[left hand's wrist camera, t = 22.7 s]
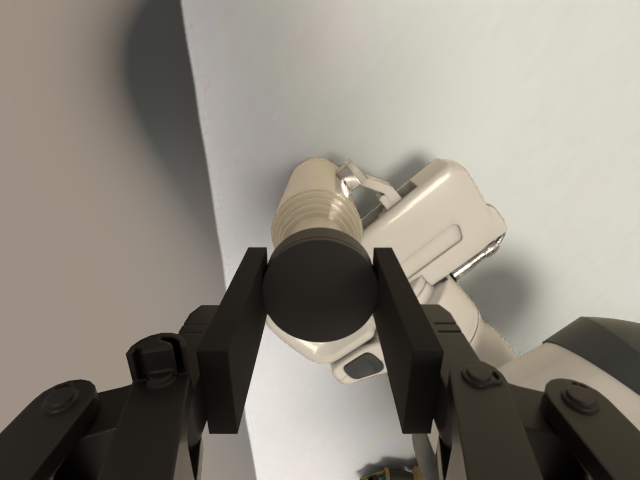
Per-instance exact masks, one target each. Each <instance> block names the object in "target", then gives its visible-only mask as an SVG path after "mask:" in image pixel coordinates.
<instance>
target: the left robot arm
mask: <svg viewBox="0 0 640 480" xmlns="http://www.w3.org/2000/svg"><path fill="white" fill-rule="evenodd" d="M267 265H268V262H267V247H248V249H247V251H246V253H245V255H244V257H243V259H242V261H241V263H240V265H239V267H238V269H237V271H236V273H235V275H234V277H233V279H232V281H231V283H230V285H229V287H228V289H227V291H226V293H225V295H224V297H223V299H222V301H221V303H220V305H201V306H200V307H198V308H197V309H196V310H195V311H193V312H192V313H191V314H190V315H189V317H188V318H187V320H186V321H185V323H184V326H182V328H181V329H180V331H179V334H174V333H160V334H155V335H151V336H149V337H146V338H144V339H142V340H140V341H138V342H137V343H136V344H134V345H133V346H131V348H130V349H129V350H128V352H127V353H126V356H127V360H128V364H129V368H130V372H131V376H132V380H133V383H132V384H131V385H128V386H125V387H122V388H117V389H113V390H108V391H105V392H100V393H97V391H96V388H95V385H94V384H92V383H91V382H90V381H86V380H73V381H67V382H64V383H61V384H58V385H56V386H54V387H52V388H50V389H48V390H46V391H44V392H43V393H42V394H40V395H39V396H38V397H37V398H35V399H34V400H33V401H32V402H31V403H30V404H29V405H28V406H27V407H26V408H25V409H24V410H23V411H22V412H21V413H20V414H19V415H18V416H17V417H16V418H15V419H14V420H13V421H12V422H11V423H10V424H9V425H8V426H7V427H6V428H5V429H4V430H3V431H2V432H1V433H0V480H201V470H202V459H203V442H202V436H201V435H202V432H203V429H204V427H205V424H206V421H207V422H208V428H209V433H210V434H237V433H238V429H239V425H240V421H241V417H242V413H243V410H244V406H245V402H246V398H247V394H248V390H249V386H250V382H251V378H252V374H253V370H254V366H255V362H256V358H257V354H258V350H259V346H260V342H261V338H262V334H263V330H264V326H265V322H266V318H267V312H266V310H265V307H264V302H263V288H262V282H263V278H264V275H265V272H266V269H267ZM373 268H374V271H375V274H376V277H377V281H378V291H377V305H376V308H375V310H374V312H373V317H374V321H375V325H376V329H377V333H378V337H379V341H380V345H381V349H382V353H383V357H384V361H385V365H386V369H387V373H388V377H389V381H390V385H391V389H392V393H393V397H394V401H395V405H396V409H397V413H398V417H399V421H400V425H401V429H402V433H403V434H431V430H432V423H433V419H434V421H435V424H436V427H437V430H438V433H439V436H438V442H437V448H436V454H435V459H434V466H433V469H436V470H438V469H439V480H640V431H639V430H638V429H637V428H636V427H635V426H634V425H633V424H632V423H631V422H630V421H629V420H628V419H627V418H626V417H625V416H624V415H623V414H622V413H621V412H620V411H619V410H618V409H617V408H616V407H615V406H614V405H613V404H612V403H611V402H610V401H609V400H608V399H607V398H606V397H605V396H604V395H602V394H601V393H600V392H599V391H597V390H595V389H593V388H592V387H590V386H588V385H586V384H584V383H581V382H578V381H575V380H572V379H563V378H558V379H552V380H550V381H549V382H548V383H547V384H546V385H545V389H544V392H542V391H538V390H534V389H529V388H525V387H521V386H517V385H514V384H510V383H508V382H507V380H506V379H505V377H504V375H503V374H502V373H501V372H500V371H499V370H497V369H496V368H495V367H493V366H491V365H489V364H487V363H485V362H483V361H480V359H479V358H478V356H477V355H476V353H475V351H474V350H473V348H472V347H471V345H470V343H469V342H468V340H467V339H466V337H465V335H464V334H463V333H462V331H461V329H460V327H459V326H458V325H457V324H456V321H455V319H454V318H453V316H452V315H451V313H450V312H449V311H447V310H446V309H445V308H443V307H442V306H441V305H439V304H420V303H419V301H418V299H417V297H416V295H415V293H414V291H413V289H412V287H411V285H410V283H409V281H408V279H407V277H406V275H405V273H404V271H403V269H402V267H401V265H400V263H399V261H398V259H397V257H396V255H395V253H394V251H393V249H392V247H374V249H373Z"/></svg>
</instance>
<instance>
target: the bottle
mask: <svg viewBox="0 0 640 480" xmlns="http://www.w3.org/2000/svg"><path fill="white" fill-rule="evenodd" d="M338 169H339V167H338V166H337V165H336V164H335V163H333V162H331V161H329V160H327V159H323V158H312V159H308V160H305V161H303V162H302V163H300V164H299V165H298V166H297V167H296V168H295V169H294V171H293V172H292V174H291V176H290V179H289V181H288V184H287V186H286V189H285V191H284V194H283V196H282V198H281V201H280V203H279V206H278V208H277V211H276V213H275V216H274V218H273V222H272V228H271V235H272V241H273V244H274V248H275V249H276V247H277V246H278V245H279V244H280V243H281V242H282V241H283V240H284V239H286V238H287V237H289V236H290V235H292V234H294V233H296V232H298V231H301V230H304V229H309V228H316V227H324V228H332V229H336V230H339V231H342V232H344V233H346V234H348V235H350V236H352V237H353V238H354V239H356V240H357V241H358V242H359V243H360V244H361V241H362V235H363V228H362V222H361V218H360V215H359V213H358V210H357V208H356V205H355V203H354V200H353V197H352V195H351V192H350V190H349V188H348V187H347V185H346V183H345V181H343V180H342V179H340V177H339V176H338V175H337V173H336V171H337V170H338Z"/></svg>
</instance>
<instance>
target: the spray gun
mask: <svg viewBox="0 0 640 480" xmlns="http://www.w3.org/2000/svg"><path fill="white" fill-rule="evenodd" d="M383 473H386V474H383ZM380 474H382V475H381V476H382V477H381V476H380ZM366 479H368V480H425V479H424V477H423V475H422V473H421V470H420V468H419V466H414V468H413V471H412V473H411V472H407V471H400V470H394V469H389V468H388V467H384V469H383V470H381V471H379V472H376V473H373V474H370V475H367V476H364V477H362V478H360V480H366Z"/></svg>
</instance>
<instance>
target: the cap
mask: <svg viewBox="0 0 640 480" xmlns="http://www.w3.org/2000/svg"><path fill="white" fill-rule="evenodd" d="M262 288H263V302H264V307H265V310H266V312H267V314H268V315H269V317H270V318H271V320H272V321H273V322H274V323H275V324H276V326H278V327H279V328H280V329H281V330H282V331H284V332H285V333H287V334H289V335H291V336H293V337H295V338H297V339H300V340H304V341H308V342H318V343H323V342H332V341H337V340H340V339H343V338H345V337H348V336H350V335H352V334H353V333H355V332H356V331H358V330H359V329H360V328H362V327H363V326H364V325H365V324H366V322H367V321H368V320H369V319H370V317H371V316H372V314H373V312H374V310H375V308H376V305H377V291H378V281H377V277H376V274H375V271H374V268H373V265H372V262H371V259H370V257H369V255H368V253H367V251H366V250H365V249H364V247H363V246H362V245H361V244H360V243H359V242H358V241H357V240H356V239H354V238H353V237H352V236H350V235H348V234H346V233H344V232H342V231H339V230H336V229H332V228H324V227H316V228H309V229H304V230H301V231H298V232H296V233H294V234H292V235H290V236H289V237H287V238H286V239H284V240H283V241H282V242H281V243H280V244H279V245H278V246H277V247H276V249H275V250H274V252H273V253H272V255H271V257H270V260H269V262H268V265H267V269H266V272H265V275H264V278H263V282H262Z"/></svg>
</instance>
